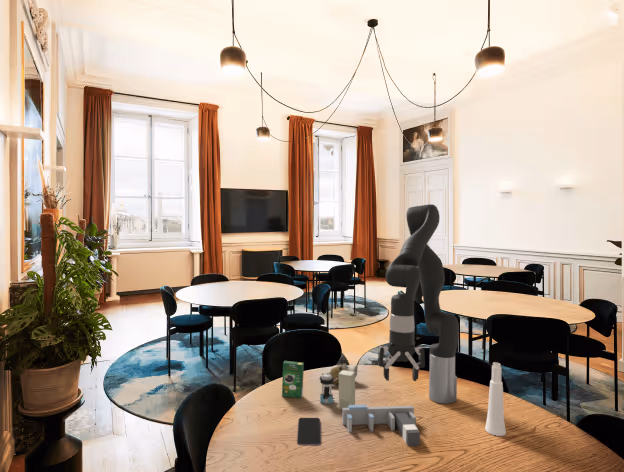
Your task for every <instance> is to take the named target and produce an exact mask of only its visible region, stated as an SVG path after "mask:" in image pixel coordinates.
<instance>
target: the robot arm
mask: <svg viewBox="0 0 624 472" xmlns="http://www.w3.org/2000/svg"><path fill="white" fill-rule="evenodd" d="M405 217H406V222H407V227H408V231H409V235H410V236H409V237H408V238H407V239H406V240H405V241H404V243H403V244H402V247H401V248H400V251H399V254H398V255H397V256H396V257H395V258H394V259H393V261H391V262H390V264H389V265H388V266H387V268H386V271H385V281H386V283H387V284H388V285H389V286H391V287H395V288H406V291H405V293H399V294H394V295H392V296H391V299H390V318H389V337H388V338H389V339H388V342H389V343H388V346H383V345H379V346H378V352H377V353H378V354H377V364H378V367H380V368H382V369H383V377H384V379H385V381H390V367H391V365H393V364H394V363H395V362H397V363H398V362H399V363H400V362H403V363H404V362H406V363H407V362H410V363H411V365H412V366H413V367H412V375H411V377H412V380H413V381H414V382H417V380H418V379H419V373H420V371H419V370H420V369H421V368H423V369H424V368H425V366H426V361H425V359H426V357H425V348H423V347H422V346H421V345H420V346H418V347H415V328H416V326H415V317H414V316H415V315H414V314H415V298H416V294H417V292H418V288H419V285H420V287H421V294H422V299H423V300H422V301H423V308H424V311H423V312H424V322H425V326H426V329H427V331H428V332H429V333H430V334H432V335H435V336H439V338H438V339H439V341H438V343H432V344H431V345H430V346H429V370H428V371H429V374H428V375H429V377H428V378H429V379H428V384H429V385H428V387H429V388H428V398H429V399H430V400H431V401H433V402H434V403H438V404H446V405H447V404H448V405H449V404H452V403H455V402H457V399H458V398H457V394H458V391H457V390H458V387H457V386H458V377H457V375H456V352H457V348H458V340H459V321H458V317H456V315H455V314H452V313H448V312H444V311H442V309H441V305H440V294H441V292H442V289H443V287H444V285H445V280H446V278H445V277H446V276H445V271H444V266H443V262H442V260H441V258H440V256H438V254H437V253H436V252H435V251H434V250H433V249H432V248H431V247H430V246H429V241H430V240H431V239H432V237H433V236H434V233H435V232H436V230H437V228H438V227H439V224H440V211H439V209H438V207H437V206H436V205H435V204H423V205H416V206H410V207H408V209H407V210H406V216H405ZM387 352H388V353H389V355H388V356H387V357H386V360H385V361H384V357H385V356H384V355H385V354H386V353H387ZM415 353H416V354H417V355H418V362H416V361H415V359H414V358H413V355H414V354H415Z"/></svg>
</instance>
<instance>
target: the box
mask: <svg viewBox="0 0 624 472" xmlns="http://www.w3.org/2000/svg"><path fill="white" fill-rule="evenodd" d="M348 405H356V378H355V372H351V371H345V370H342V371H341V372H340V373H339V383H338V410H339V409H340V410H342V408H348Z"/></svg>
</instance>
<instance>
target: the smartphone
mask: <svg viewBox="0 0 624 472" xmlns="http://www.w3.org/2000/svg"><path fill="white" fill-rule="evenodd" d="M321 429H322V427H321V418H320V417H299V418H298V422H297V435H296V436H297V438H296V445H298V446H321V444H322V436H321V435H322V434H321Z"/></svg>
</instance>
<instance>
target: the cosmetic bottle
mask: <svg viewBox="0 0 624 472" xmlns="http://www.w3.org/2000/svg"><path fill="white" fill-rule="evenodd" d="M487 406H488V407H487V415H486V421H485V422H486V423H485V426H484V427H485V428H484V430H485V431H486V432H487V433H488V434H489V435H492V436H495V435H496V437H503V436H505V435H506V434H507V431H506V425H505V414H504V413H505V412H504V387H503V381H502V366H501V363H499V362H496V361H495V362H492V365H491V379H490V381H489V391H488V405H487Z"/></svg>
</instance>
